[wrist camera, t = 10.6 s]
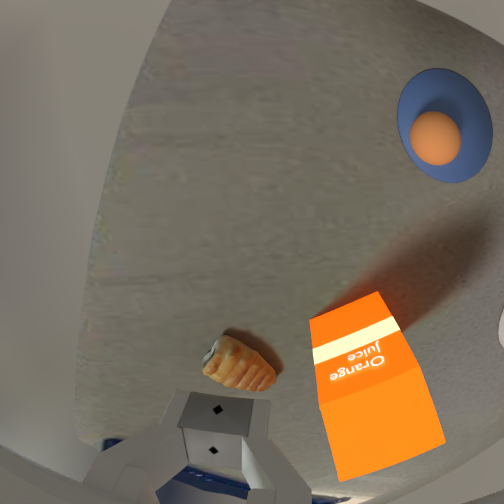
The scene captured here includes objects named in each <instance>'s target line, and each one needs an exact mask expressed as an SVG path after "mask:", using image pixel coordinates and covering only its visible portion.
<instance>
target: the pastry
mask: <svg viewBox="0 0 504 504" xmlns="http://www.w3.org/2000/svg"><path fill="white" fill-rule="evenodd" d="M202 371H203V373H204V374H205V375H208V376H209V377H211V378H212V379H214V380H215V381H217V382H219V383H222V384H224V385H225V386H226V387H233V388H240V389H243V390H248V391H264V390H266V389H267V388H269V387H270V386H271V385H273V384H275V382H276V375H275V370H274V369H273V368H272V367H271V366H270V365H269V364H268V363H267V362H266V360H264V359H263V358H262V357H261V356H260V354H259V353H258V351H256V350H252V349H251V348H250V347H248V346H246V345H245V344H243V343H242V342H240V341H239V340H236V339H235V338H232V337H230V336H228V335H222V336H221V337H220V338H218V339H217V340H216V342H215V343H214V345H213V347H212V349H211V351H210V352H208V353H207V354H206V355H205V357H204V358H203V361H202Z"/></svg>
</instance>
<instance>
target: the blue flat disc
mask: <svg viewBox="0 0 504 504" xmlns="http://www.w3.org/2000/svg"><path fill="white" fill-rule="evenodd" d="M430 111H435V112H440V113H443V114H445V115H447V116H448V117H450V118H451V119H452V120H453V121H454V122H455V124H456V125H457V127H458V129H459V132H460V135H461V147H460V150H459V153H458V154H457V156H456V157H455V158H454V159H453V160H452V161H451V162H449V163H447V164H444V165H432V164H429V163H427V162H425V161H423V160H422V159H421V158H419V157H418V155H417V154H416V153H415V152H414V150H413V148H412V145H411V142H410V129H411V126H412V124H413V122H414V120H415V119H416V118H417V117H418V116H420V115H421V114H423V113H425V112H430ZM397 119H398V129H399V133H400V137H401V140H402V143H403V145H404V148H405V150H406V151H407V153H408V155H409V156H410V158H411V160H412V161H413V162H414V163H415V164H416V166H417V167H418V168H419V169H420V170H422V171H423V172H424V173H425V174H427V175H428V176H430V177H432V178H434V179H436V180H439V181H442V182H447V183H457V182H462V181H465V180H467V179H470V178H471V177H473V176H474V175H475V174H477V173H478V172H479V171H480V170H481V168H482V167H483V166H484V164H485V163H486V161H487V159H488V156H489V154H490V150H491V146H492V138H493V129H492V121H491V117H490V114H489V111H488V108H487V106H486V103H485V101H484V100H483V98H482V96H481V95H480V93H479V92H478V91H477V89H476V88H475V87H474V86H473V85H472V84H471V83H470V82H469V81H468V80H466V79H465V78H464V77H462V76H461V75H459V74H457V73H455V72H452V71H449V70H444V69H431V70H427V71H424V72H422V73H420V74H418V75H416V76H415V77H414V78H412V79H411V80H410V81H409V82H408V84H407V85H406V87H405V88H404V90H403V92H402V94H401V97H400V100H399V105H398V113H397Z"/></svg>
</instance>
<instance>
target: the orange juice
mask: <svg viewBox="0 0 504 504" xmlns="http://www.w3.org/2000/svg"><path fill="white" fill-rule="evenodd" d="M310 328H311V336H312V344H313V356H314V364H315V369H316V378H317V387H318V397H319V407H320V410H321V412H322V416H323V420H324V423H325V427H326V431H327V435H328V438H329V442H330V446H331V450H332V454H333V457H334V461H335V465H336V469H337V473H338V477H339V481H340V482H341V481H344V480H348V479H351V478H355V477H358V476H361V475H364V474H367V473H371V472H374V471H377V470H379V469H382V468H385V467H388V466H391V465H393V464H396V463H399V462H401V461H404V460H407V459H409V458H412V457H414V456H416V455H419V454H421V453H423V452H426V451H428V450H430V449H433V448H435V447H437V446H439V445H441V444H443V443H445V438H444V435H443V432H442V429H441V426H440V423H439V420H438V417H437V414H436V411H435V408H434V405H433V402H432V399H431V397H430V394H429V391H428V388H427V386H426V383H425V380H424V377H423V375H422V372H421V369H420V367H419V365H418V363H417V361H416V359H415V357H414V355H413V353H412V351H411V350H410V348H409V346H408V344H407V342H406V340H405V338H404V337H403V335H402V333H401V331H400V328H399V327H398V325H397V323H396V321H395V319H394V318H393V316H392V315H391V313H390V312H389V310H388V308H387V306H386V305H385V303H384V301H383V300H382V298H381V296H380V295H379V293H378V291H377V292H375V293H372V294H370V295H368V296H366V297H363V298H361V299H359V300H356V301H354V302H352V303H349V304H347V305H345V306H342V307H340V308H338V309H335V310H333V311H330V312H328V313H326V314H323V315H321V316H318V317H316V318H313V319H311V320H310Z"/></svg>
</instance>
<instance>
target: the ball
mask: <svg viewBox="0 0 504 504" xmlns="http://www.w3.org/2000/svg"><path fill="white" fill-rule="evenodd" d="M410 142H411V145H412V148H413V150H414V152H415V153H416V154H417V155H418V157H419V158H421V159H422V160H423V161H425V162H427V163H429V164H432V165H444V164H447V163H449V162H451V161H452V160H453V159H454V158H455V157H456V156H457V154H458V153H459V150H460V147H461V135H460V132H459V129H458V127H457V125H456V124H455V122H454V121H453V120H452V119H451V118H450V117H448V116H447V115H445V114H443V113H440V112H435V111H430V112H425V113H423V114H421V115H420V116H418V117H417V118H416V119H415V120H414V122H413V124H412V126H411V129H410Z"/></svg>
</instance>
